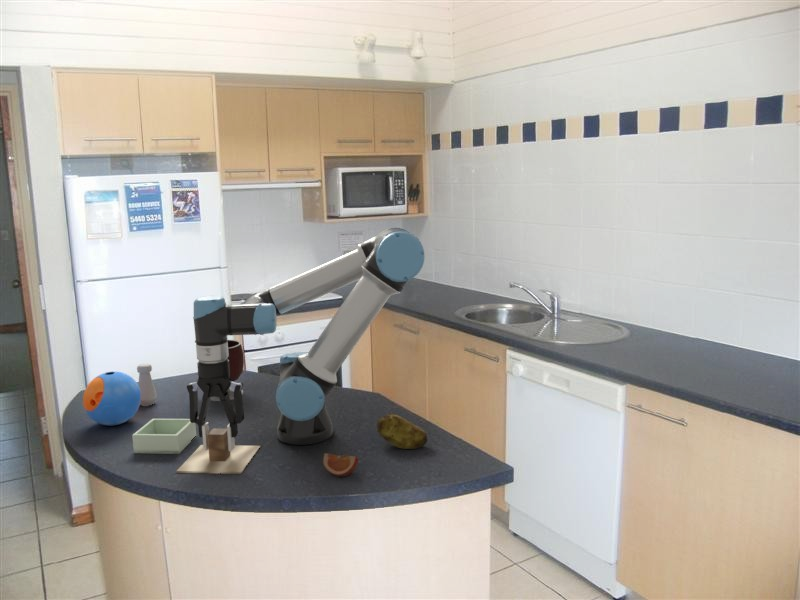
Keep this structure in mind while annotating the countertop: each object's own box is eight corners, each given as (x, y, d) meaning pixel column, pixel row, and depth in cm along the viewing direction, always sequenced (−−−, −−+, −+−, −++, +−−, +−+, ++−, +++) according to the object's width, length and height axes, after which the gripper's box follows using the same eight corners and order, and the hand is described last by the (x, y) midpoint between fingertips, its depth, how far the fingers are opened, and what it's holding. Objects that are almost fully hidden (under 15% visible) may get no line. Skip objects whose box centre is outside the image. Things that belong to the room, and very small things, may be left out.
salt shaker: (161, 403, 211) (157, 363, 209) (146, 408, 207) (142, 368, 204) (149, 400, 215) (146, 361, 212) (134, 405, 210) (130, 365, 208)
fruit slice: (319, 477, 156) (318, 457, 155) (331, 465, 162) (330, 446, 162) (351, 482, 153) (350, 461, 153) (363, 470, 160) (362, 450, 159)
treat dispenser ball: (153, 421, 195) (148, 371, 192) (101, 437, 183) (96, 384, 181) (126, 410, 205) (122, 362, 202) (76, 425, 193) (70, 374, 191)
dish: (196, 436, 183) (195, 418, 182) (178, 453, 171) (177, 435, 170) (154, 435, 184) (152, 418, 183) (134, 453, 172) (132, 435, 171)
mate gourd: (232, 385, 228) (229, 329, 224) (253, 394, 218) (250, 335, 214) (190, 396, 218) (185, 336, 214) (210, 406, 208) (205, 344, 204)
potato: (413, 456, 167) (412, 426, 165) (372, 446, 174) (371, 416, 173) (430, 445, 173) (430, 416, 172) (390, 435, 181) (390, 407, 179)
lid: (260, 449, 175) (258, 420, 173) (241, 476, 159) (239, 444, 158) (201, 448, 176) (199, 419, 175) (176, 474, 160) (174, 443, 159)
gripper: (169, 363, 160) (177, 454, 164) (245, 363, 158) (251, 455, 162) (182, 355, 167) (189, 442, 171) (254, 355, 166) (260, 443, 170)
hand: (219, 448), depth 167 cm, fingers open, 6 cm apart
